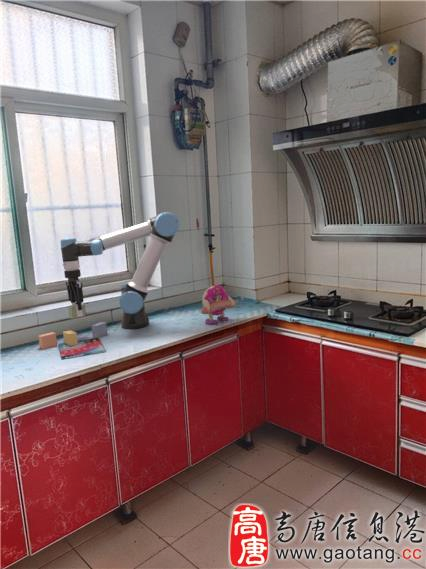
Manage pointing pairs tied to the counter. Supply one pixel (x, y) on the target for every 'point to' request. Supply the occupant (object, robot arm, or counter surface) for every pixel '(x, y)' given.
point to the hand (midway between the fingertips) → (78, 315)
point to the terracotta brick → (47, 340)
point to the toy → (216, 304)
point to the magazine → (81, 348)
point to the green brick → (73, 311)
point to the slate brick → (99, 329)
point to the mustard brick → (70, 338)
